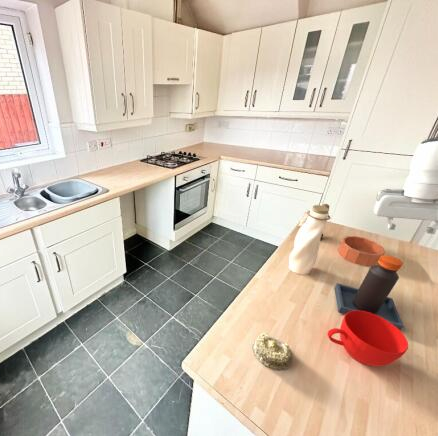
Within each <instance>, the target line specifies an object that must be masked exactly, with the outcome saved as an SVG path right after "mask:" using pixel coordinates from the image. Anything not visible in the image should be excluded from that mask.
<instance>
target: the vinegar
mask: <svg viewBox="0 0 438 436" xmlns="http://www.w3.org/2000/svg"><path fill="white" fill-rule="evenodd" d="M403 264H404V261H402V260H401V259H400V258H398V257H396V256H394V255H389V254H384V255H382V256H381V257H380V259H379V261H378V264H377V265H374V266H370V267H369V269H368V271H367V272H366V274H365V276H364V278H363V279H362V282H361V284H360V285H359V287H358V288H357V289H358V291H357V293H356V295H355V296H354V298H353V305H354V306H355V307H356V308H357V309H359V310H361V311H366V312H369V313H372V314H375V313H377V312H378V311H379V309H380V307H381V306H382V304H383V303H384V301H385V300H386V298H387V297H389V295H390V293H391V292H392V290H393V289H394V287H395V285H396V284H397V282H398V281H399V279H400V276H399V274H398V272H399V270H400V269H401V268H402V266H403Z"/></svg>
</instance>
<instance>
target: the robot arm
mask: <svg viewBox="0 0 438 436" xmlns="http://www.w3.org/2000/svg"><path fill="white" fill-rule="evenodd" d="M373 213H374V214H375V215H376V216H377V217H382V218H383V217H384V218H385V220H386V222H387V227H386V228H387V230H393V231H395V229H396V224H395V223H392V221H394V218H395V219H406V220H407V219H408V220H418V221H429V222H430V221H431V222H434V224H433V225H432V226H426V227H427V228H426V230H425V232H426V233H427V234H430V235H435V234H436V232H437V230H438V136H436V137H430V138H427V139H425V140H422V141H421V142H420V143H419V145H418V146H417V148H416V150H415V151H414V154H413V157H412V159H411V162H410V166H409V174H408V176H406V179H405V182H404V185H403V189H391V188H385V189H383V190H381V191H379V192H378V193H377V195H376V202H375V204H374V207H373Z"/></svg>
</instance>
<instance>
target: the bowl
mask: <svg viewBox="0 0 438 436" xmlns="http://www.w3.org/2000/svg"><path fill="white" fill-rule="evenodd" d="M337 252H338V255H339V256H340V257H342V259H344V260H346V261H348V262H350V263H353V264H355V265H359V266H362V267H371V266H374V265H378V261H379V259H380V257H381V256H382V255H385V253H386V250H385V248H384V247H383V246H382V245H381V244H379V243H378V242H376V241H374V240H371V239H368V238H367V237H361V236H356V235H346V236H344V237H343V238H342V239H341V242H340V243H339V245H338V248H337Z"/></svg>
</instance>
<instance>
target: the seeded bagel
mask: <svg viewBox="0 0 438 436" xmlns="http://www.w3.org/2000/svg"><path fill="white" fill-rule="evenodd" d="M252 351H253V354H254V356H255V357H256V359H257V360H258V362H260V364H261V365H263V366H264V367H267V368H269V369H270V370H274V371H283V370H286V369H288V368H289V367H290V366H291V365H292V349H291V348H290V345H289V343H283V342H282V341H280V340H279V339H277V338H275V337H272V336H270V335H269V334H268V333H267V332H263V333H260V334H258V336H257V337H256V338H255V340H253V343H252Z"/></svg>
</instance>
